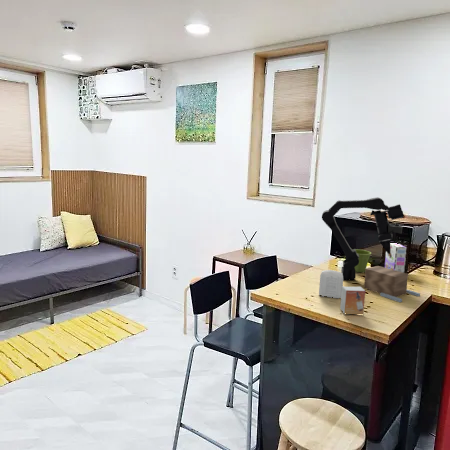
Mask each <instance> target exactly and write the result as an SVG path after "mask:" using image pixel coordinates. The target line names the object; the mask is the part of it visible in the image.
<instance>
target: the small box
mask: <svg viewBox="0 0 450 450" xmlns="http://www.w3.org/2000/svg"><path fill="white" fill-rule="evenodd" d="M365 298H366V289H365V288H364V287H362V286H345V285H343V286H342V293H341V299H340V308H339V310H340V309H341V310H342V311H343V313H344V314H345V313H346V314H363V315H364V312H365V311H364V310H365V301H366V300H365ZM341 310H340V311H341ZM343 313H342V314H343ZM344 314H343V315H344Z"/></svg>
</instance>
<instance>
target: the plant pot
mask: <svg viewBox="0 0 450 450" xmlns="http://www.w3.org/2000/svg"><path fill="white" fill-rule="evenodd" d="M354 249H355V250H356V253H357V254H358V255H359V264H358V265H357V266H355V267H354V268H355V271H356V273H365V270H366V268H368V267H367V266H368V262H369V259H370V257H371V255H372V252H371V251H368V250H365V249H356V248H354Z"/></svg>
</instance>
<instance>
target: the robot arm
mask: <svg viewBox="0 0 450 450" xmlns="http://www.w3.org/2000/svg"><path fill="white" fill-rule="evenodd" d="M364 208H365V209H370V210H371V212H370V213H369V215H370V216H374V220H375V225H376V228H377V233H378V237H377V238H378V242H379V243H380V245H381V246H382V247H383V249H384V250H385V252H386V251H387V253H388V254H390V251H391V248H390V242H393V241H392V240H393V233H395V234H396V233H398V234H401V235H402V232H403V226H402V225H401V226H400V224H399V223H395V224H394V225H390V222H389V220H388V219H391V221H393V220H397V219H403V218H404V215H405V214H404V211H403V209H402V207H401V204H400V203H399V204H396V205H392V206H388V205H387V204H385V201H384V200H383V198H380V197H373V198H372V197H371V198H367V199H363V200H362V199H361V200H359V199H357V200H356V199H355V200H339V199H338V200H336V202H335V203H334V204H333V205H332V206H331V207H330V208H328V210H324V211H323V213H322V215H321V220H322V221H323V222H324V223H325V225H326V226H327V227H328V228H329V229H330V230H331V232H332V234H333V235H334V238H335V239H336V241H337V243H338V244H339V245H340V248H341V250H342V252H343V253H344V256H345V259H344V260H343V261H342V266H341V271H340V272H341V273H343V281H356V276H357V272H356V271H355V268H354V267H355V266H357V265H358V264H359V255H358V254H357V253H356V250H355V249H356V248H354V249H352V248H351V247H350V245H349V243H348V241H347V240H346V238H345V236H344V234H343V233H342V231H341V229H340V227H339V226H338V224H337V222H336V218H335V215H336V214H338V213H339V211H340V210H341V209H364ZM382 210H383V211H382Z"/></svg>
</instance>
